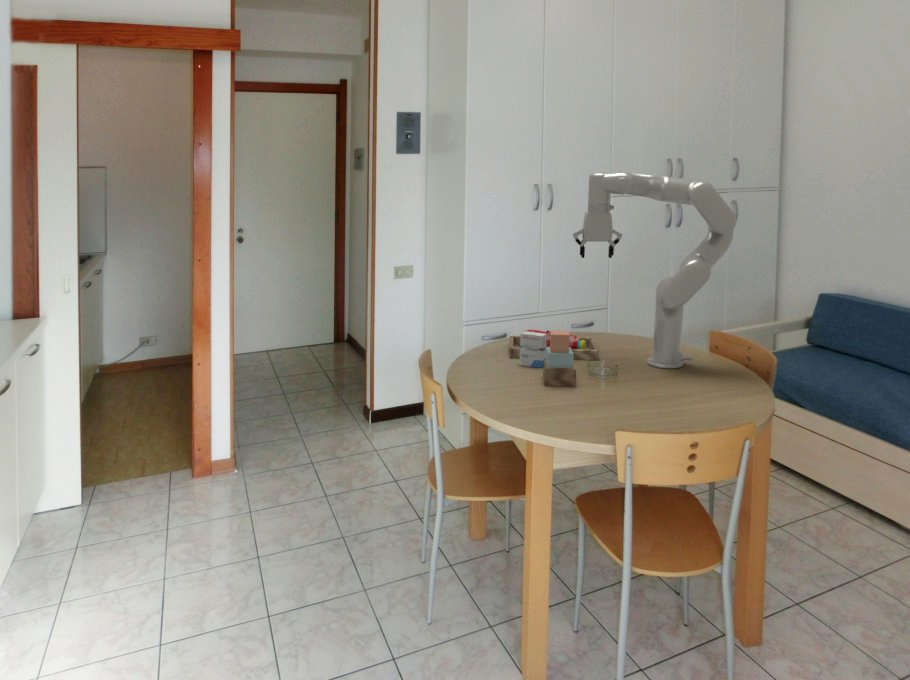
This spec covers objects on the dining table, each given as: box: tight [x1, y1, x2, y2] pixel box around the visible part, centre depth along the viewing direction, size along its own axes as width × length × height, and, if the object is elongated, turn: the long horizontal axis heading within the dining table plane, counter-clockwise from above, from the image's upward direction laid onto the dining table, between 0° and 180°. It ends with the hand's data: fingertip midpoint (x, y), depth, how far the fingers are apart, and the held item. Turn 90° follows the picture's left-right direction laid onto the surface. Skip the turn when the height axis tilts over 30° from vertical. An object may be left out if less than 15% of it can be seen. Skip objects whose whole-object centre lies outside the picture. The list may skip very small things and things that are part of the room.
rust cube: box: [550, 329, 571, 353], centre depth 235 cm, size 6×6×6 cm
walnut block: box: [543, 360, 577, 387], centre depth 237 cm, size 10×10×6 cm
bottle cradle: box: [508, 335, 600, 361], centre depth 273 cm, size 33×20×4 cm, turn 86°
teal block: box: [546, 347, 574, 368], centre depth 236 cm, size 8×8×5 cm
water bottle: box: [523, 329, 587, 350], centre depth 275 cm, size 12×8×25 cm
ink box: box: [519, 330, 547, 369], centre depth 255 cm, size 8×5×12 cm, turn 65°
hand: (596, 257), depth 254 cm, fingers open, 9 cm apart
